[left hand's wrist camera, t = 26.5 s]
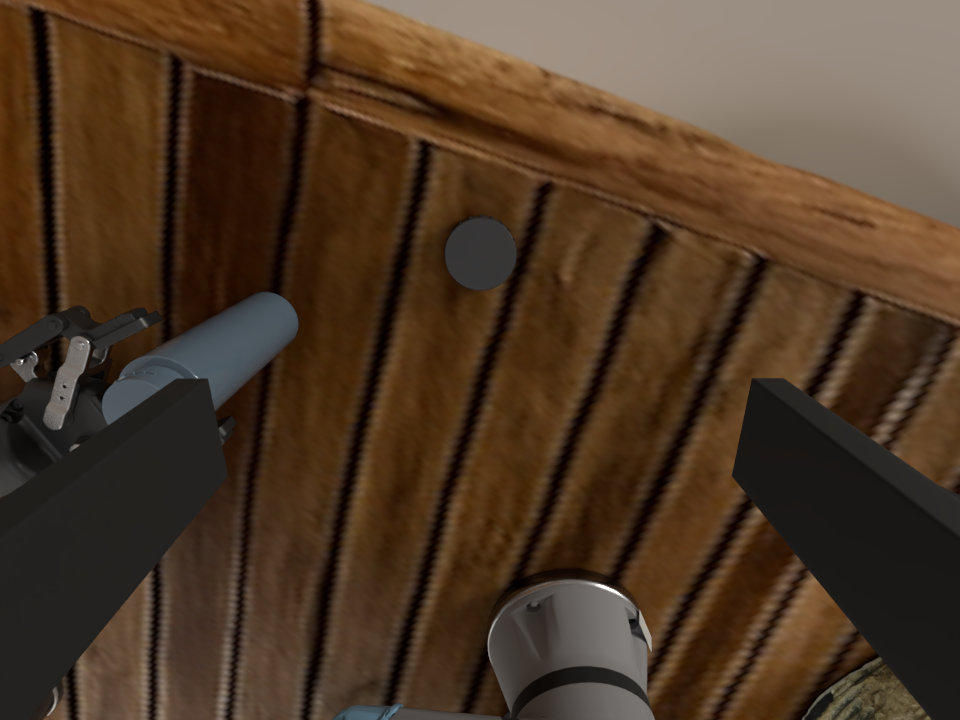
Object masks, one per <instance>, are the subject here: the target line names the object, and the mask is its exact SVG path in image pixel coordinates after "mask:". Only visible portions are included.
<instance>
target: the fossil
mask: <svg viewBox="0 0 960 720" xmlns="http://www.w3.org/2000/svg"><path fill="white" fill-rule="evenodd" d="M802 720H931V718H930V717H929V716H928V715H927V714H926V712H925V711H924V710H923V709H922V707H921V706H920V705H919V704H918V703H917V701H916V700H915V699H914V698H913V697H912V695H911V694H910V693H909V692H908V690H907V689H906V688H905V687H904V686H903V684H902V683H901V682H900V681H899V679H898V678H897V677H896V676H895V675H894V673H893V672H892V671H891V670H890V668H889V667H888V666H887V665H886V664H885V662H884V661H883V660H882V659H881V657H878V658H877V659H875V660H873V661H871V662H869V663H867V664H865V665H864V666H863V667H862V668H861V669H859V670H857V671H855V672H852V673H850V674H849V675H847V676H846V677H844V678H843V679H841V680H840V681H839V682H837V683H836V684H834V685H833V686H831V687H830V688H829V689H827V690H826V691H825V692H824V693H823V694H821V695H820V696H819V697H818V698H817V699H816V701H815V702H814V703H813V705H812V706H811V707H810V708H809V710H808V712H807V714H806V715H805V716H804V717H803V718H802Z"/></svg>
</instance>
